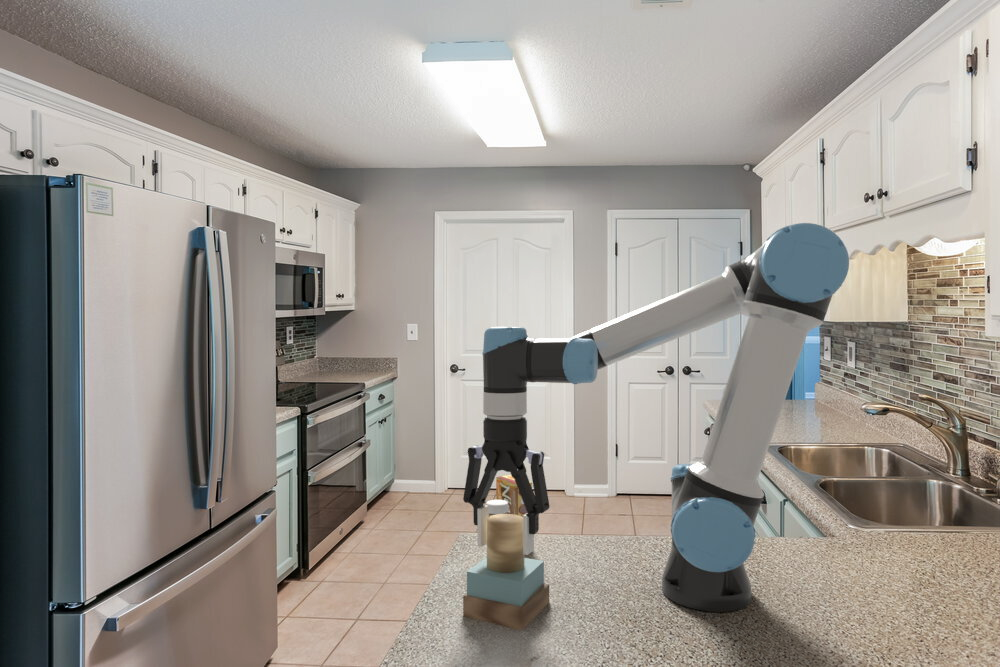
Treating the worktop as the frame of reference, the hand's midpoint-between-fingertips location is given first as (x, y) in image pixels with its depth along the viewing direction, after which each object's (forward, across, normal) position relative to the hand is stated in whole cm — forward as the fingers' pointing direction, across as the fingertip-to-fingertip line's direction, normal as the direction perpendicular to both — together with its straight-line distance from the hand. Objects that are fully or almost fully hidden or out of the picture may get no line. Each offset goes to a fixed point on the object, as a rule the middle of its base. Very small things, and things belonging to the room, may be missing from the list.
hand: (505, 547), depth 106 cm
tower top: (+7, 0, 0) cm, 7 cm away
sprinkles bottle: (+11, +10, -16) cm, 22 cm away
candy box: (+11, +12, -28) cm, 32 cm away
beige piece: (+3, 0, 0) cm, 3 cm away
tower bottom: (+11, 0, 0) cm, 11 cm away
